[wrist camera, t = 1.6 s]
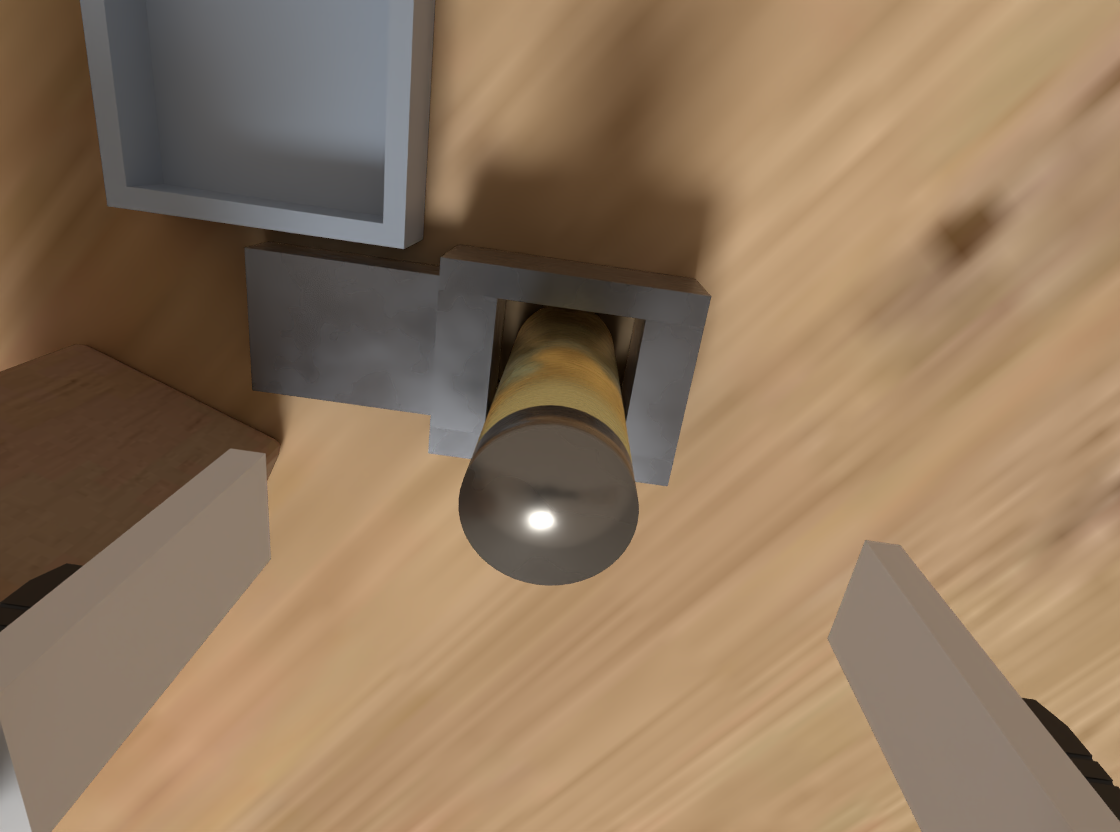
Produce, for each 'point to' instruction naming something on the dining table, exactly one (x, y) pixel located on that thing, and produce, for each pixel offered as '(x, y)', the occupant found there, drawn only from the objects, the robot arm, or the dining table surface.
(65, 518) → the wooden block
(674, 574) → the dining table surface
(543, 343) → the pin
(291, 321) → the bar
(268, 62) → the tray
